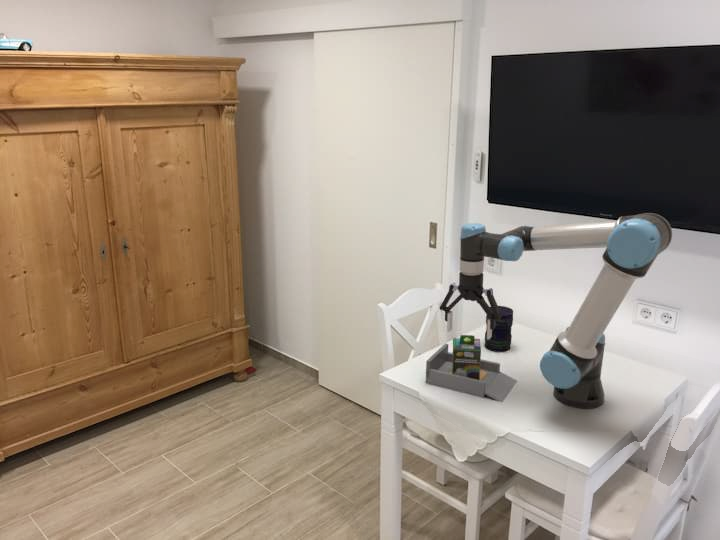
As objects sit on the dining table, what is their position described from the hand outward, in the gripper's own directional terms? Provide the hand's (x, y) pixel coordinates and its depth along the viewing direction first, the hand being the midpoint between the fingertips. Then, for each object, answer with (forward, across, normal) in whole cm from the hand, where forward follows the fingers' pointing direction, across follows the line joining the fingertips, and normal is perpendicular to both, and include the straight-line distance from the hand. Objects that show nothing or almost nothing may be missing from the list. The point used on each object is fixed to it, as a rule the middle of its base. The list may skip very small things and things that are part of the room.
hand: (469, 334), depth 194 cm
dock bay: (+17, -1, 0) cm, 18 cm away
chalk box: (+15, +1, 0) cm, 15 cm away
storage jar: (+17, 0, -32) cm, 36 cm away
